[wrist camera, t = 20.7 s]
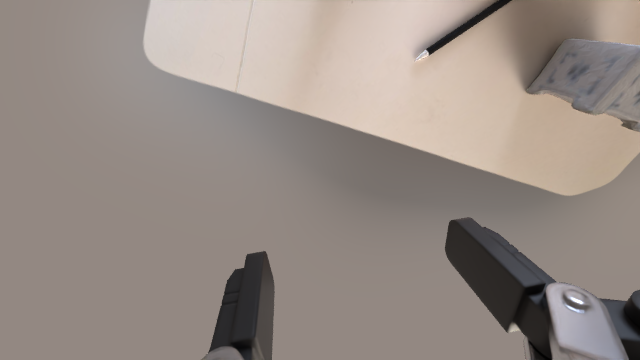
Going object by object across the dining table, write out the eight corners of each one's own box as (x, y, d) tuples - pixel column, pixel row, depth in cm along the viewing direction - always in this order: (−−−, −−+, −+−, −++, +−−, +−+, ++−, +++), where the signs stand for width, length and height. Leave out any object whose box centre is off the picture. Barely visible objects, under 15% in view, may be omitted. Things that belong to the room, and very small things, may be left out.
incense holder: (519, 99, 37) (597, 114, 28) (556, 37, 34) (659, 30, 24) (567, 116, 39) (654, 135, 30) (606, 60, 36) (718, 61, 27)
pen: (555, -31, 30) (565, -34, 29) (414, 64, 33) (418, 64, 32) (554, -39, 30) (564, -42, 29) (411, 57, 32) (415, 57, 31)
